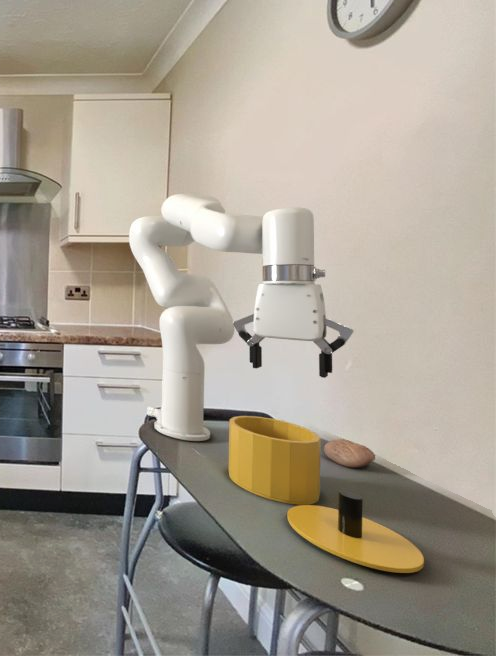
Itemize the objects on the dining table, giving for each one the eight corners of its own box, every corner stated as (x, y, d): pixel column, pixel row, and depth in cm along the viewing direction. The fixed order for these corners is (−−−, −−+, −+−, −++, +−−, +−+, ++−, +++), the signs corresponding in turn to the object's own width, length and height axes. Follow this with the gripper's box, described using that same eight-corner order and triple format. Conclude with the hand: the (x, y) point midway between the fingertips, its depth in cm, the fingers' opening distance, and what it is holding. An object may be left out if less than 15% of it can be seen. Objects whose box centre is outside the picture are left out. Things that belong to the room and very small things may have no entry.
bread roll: (334, 450, 92) (312, 445, 89) (353, 432, 90) (331, 425, 87) (367, 480, 85) (344, 475, 83) (389, 460, 83) (366, 454, 80)
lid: (276, 535, 59) (277, 489, 59) (298, 502, 69) (299, 463, 69) (423, 596, 48) (423, 539, 48) (424, 546, 58) (425, 499, 58)
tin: (218, 481, 75) (219, 425, 76) (241, 461, 84) (242, 411, 85) (310, 514, 65) (311, 449, 65) (325, 488, 74) (326, 431, 74)
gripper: (354, 277, 69) (357, 378, 68) (239, 278, 82) (240, 363, 81) (349, 274, 64) (351, 383, 63) (227, 276, 77) (227, 366, 76)
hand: (288, 371), depth 72 cm, fingers open, 9 cm apart
